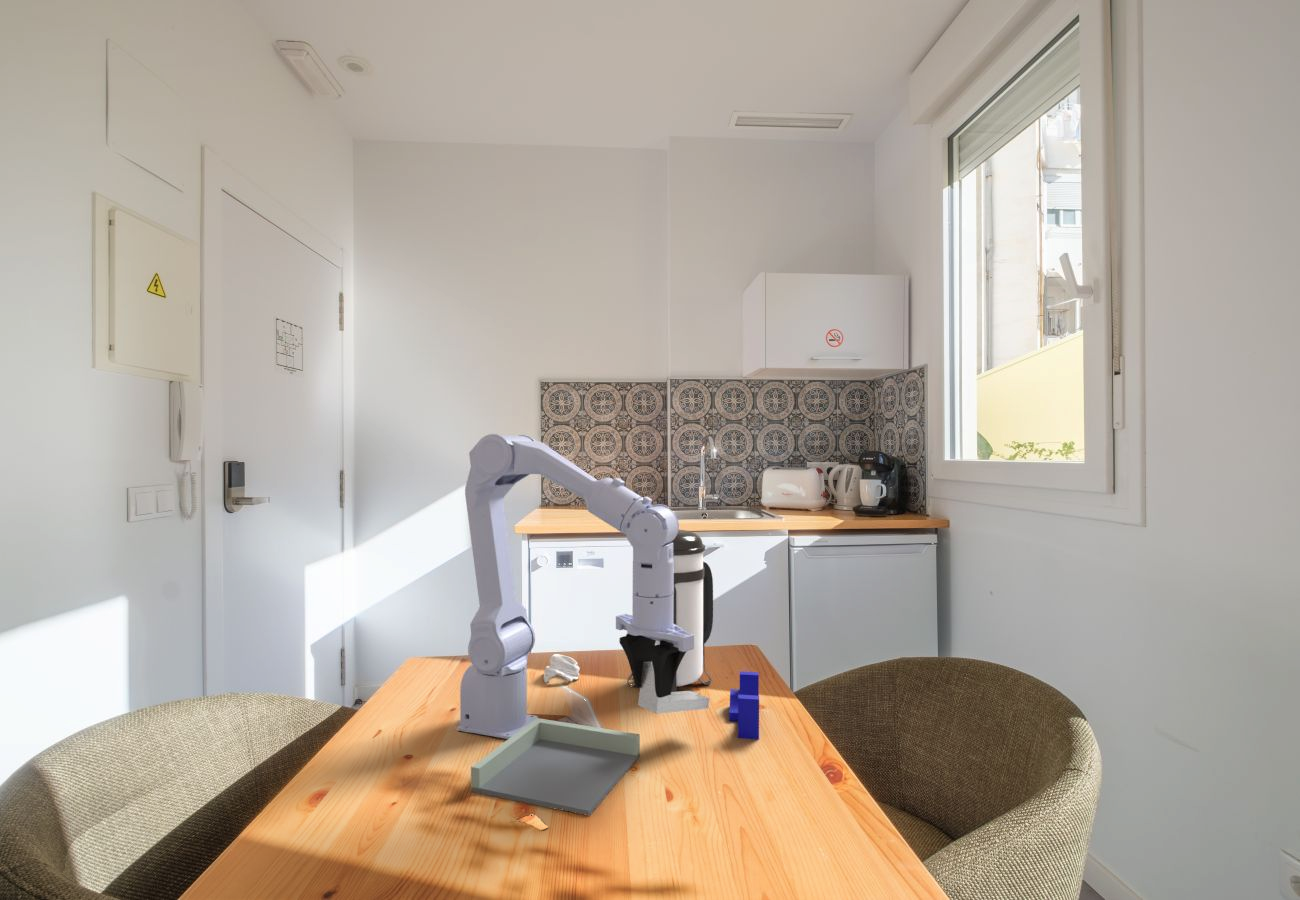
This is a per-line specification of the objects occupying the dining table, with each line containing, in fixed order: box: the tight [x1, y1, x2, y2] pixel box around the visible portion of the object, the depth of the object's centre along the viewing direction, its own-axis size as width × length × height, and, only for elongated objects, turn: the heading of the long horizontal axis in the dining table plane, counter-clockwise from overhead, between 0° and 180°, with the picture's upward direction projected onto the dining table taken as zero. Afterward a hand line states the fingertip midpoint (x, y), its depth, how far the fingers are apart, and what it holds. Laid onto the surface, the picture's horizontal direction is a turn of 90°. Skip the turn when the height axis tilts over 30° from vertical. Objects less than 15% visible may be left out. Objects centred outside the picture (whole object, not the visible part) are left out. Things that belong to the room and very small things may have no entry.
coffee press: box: [626, 529, 714, 692], centre depth 121 cm, size 17×16×30 cm
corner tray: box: [470, 717, 641, 816], centre depth 88 cm, size 16×16×3 cm
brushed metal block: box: [637, 662, 710, 715], centre depth 97 cm, size 10×4×6 cm, turn 130°
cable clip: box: [728, 670, 760, 740], centre depth 104 cm, size 12×4×6 cm, turn 171°
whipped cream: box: [543, 653, 580, 684], centre depth 124 cm, size 8×7×5 cm
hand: (652, 690), depth 94 cm, fingers closed on brushed metal block, 4 cm apart
